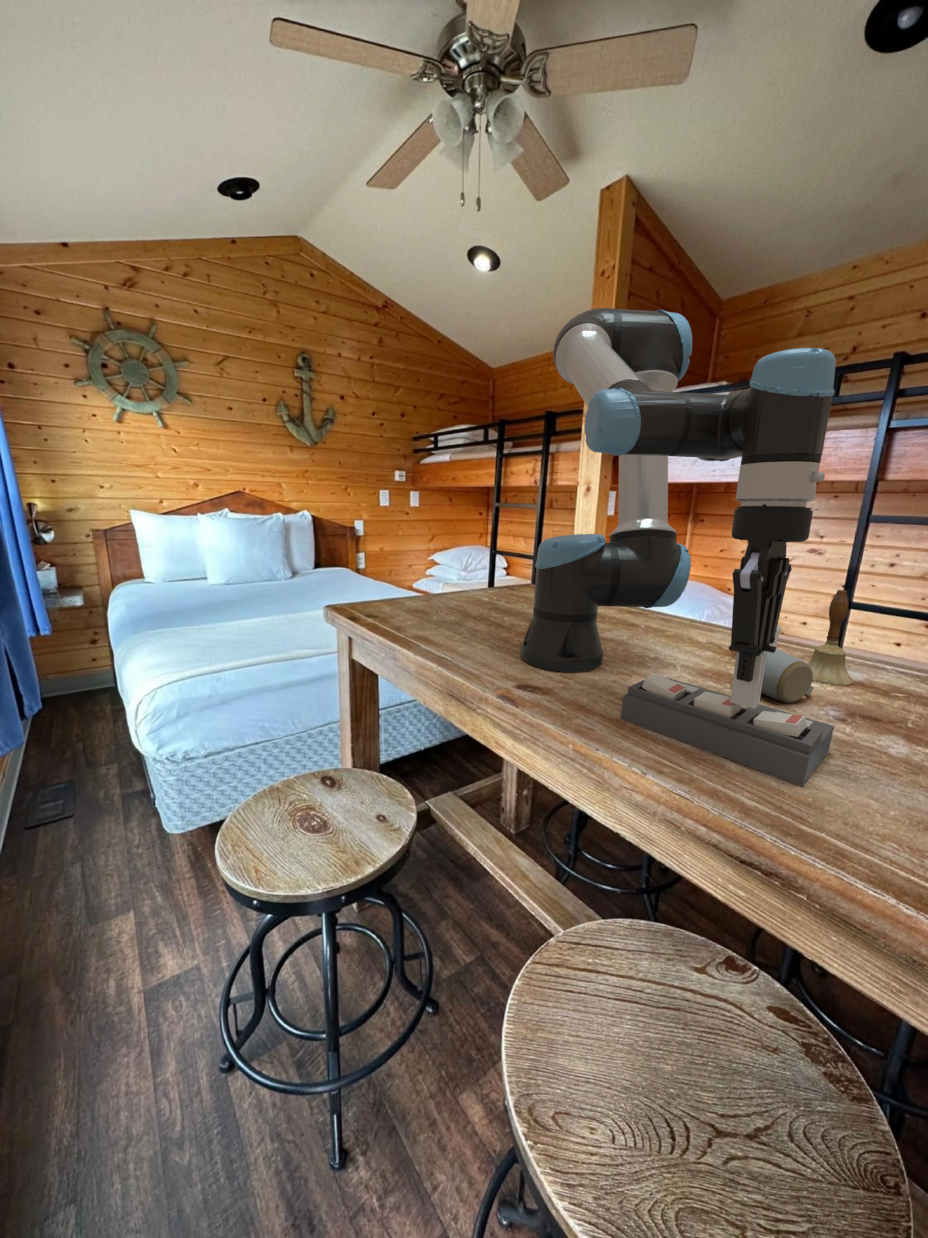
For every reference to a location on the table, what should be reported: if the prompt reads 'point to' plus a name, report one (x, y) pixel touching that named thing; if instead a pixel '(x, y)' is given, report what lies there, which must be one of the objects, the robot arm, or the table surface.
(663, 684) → the rocker
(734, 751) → the rocker switch box
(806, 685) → the ceramic mug
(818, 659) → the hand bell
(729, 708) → the middle rocker
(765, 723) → the rocker
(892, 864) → the table surface
